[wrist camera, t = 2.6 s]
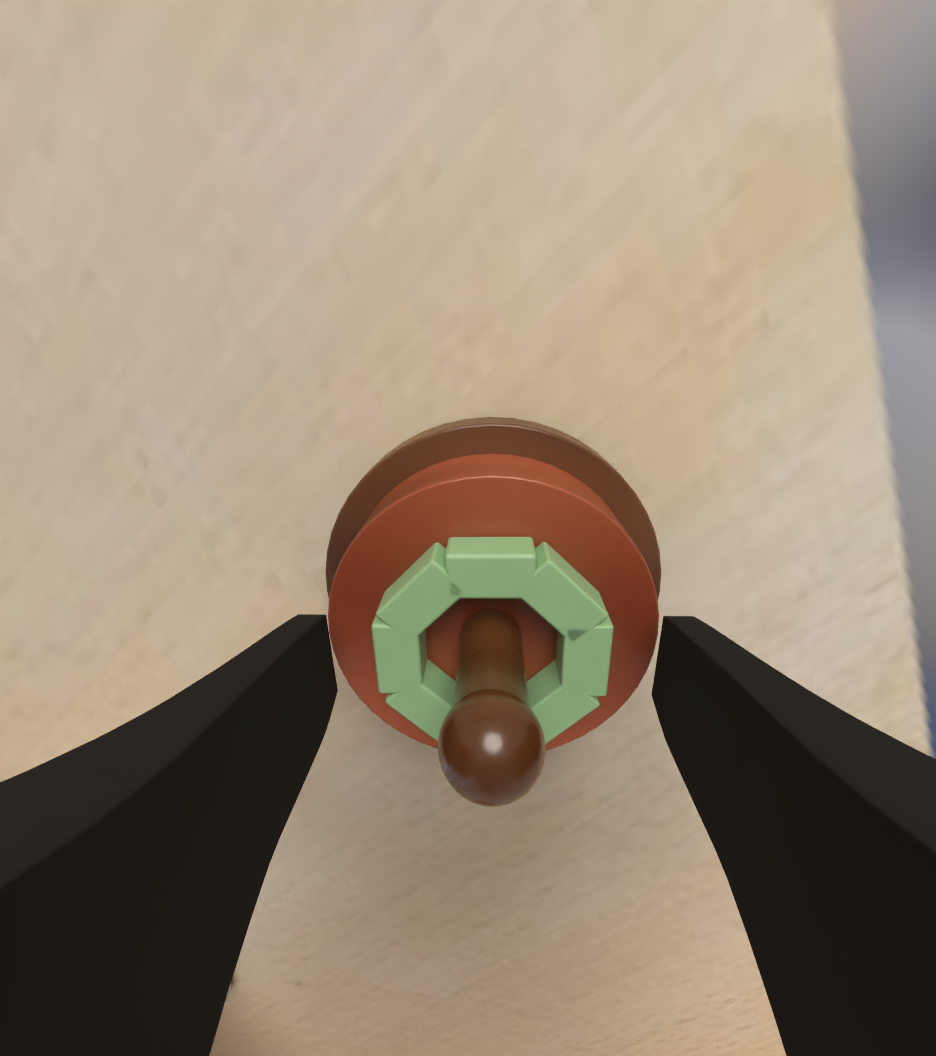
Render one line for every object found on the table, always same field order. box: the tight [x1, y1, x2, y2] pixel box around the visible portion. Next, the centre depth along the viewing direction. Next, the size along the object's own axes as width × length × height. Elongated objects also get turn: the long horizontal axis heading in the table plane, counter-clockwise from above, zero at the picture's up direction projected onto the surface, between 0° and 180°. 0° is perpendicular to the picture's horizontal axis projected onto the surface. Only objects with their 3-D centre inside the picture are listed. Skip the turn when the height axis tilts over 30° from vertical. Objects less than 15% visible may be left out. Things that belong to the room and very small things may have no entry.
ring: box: [371, 537, 614, 744], centre depth 11 cm, size 5×5×1 cm
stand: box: [326, 417, 661, 807], centre depth 11 cm, size 9×9×7 cm
